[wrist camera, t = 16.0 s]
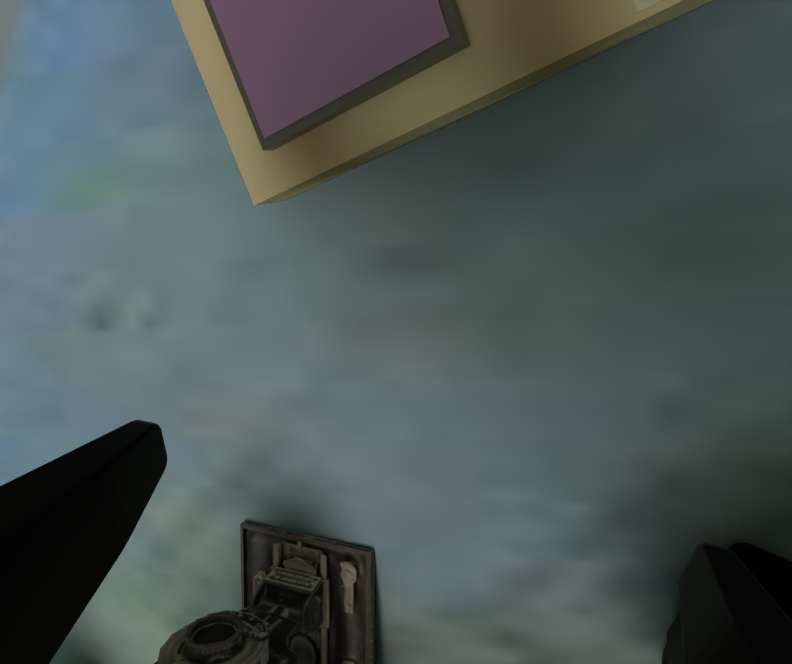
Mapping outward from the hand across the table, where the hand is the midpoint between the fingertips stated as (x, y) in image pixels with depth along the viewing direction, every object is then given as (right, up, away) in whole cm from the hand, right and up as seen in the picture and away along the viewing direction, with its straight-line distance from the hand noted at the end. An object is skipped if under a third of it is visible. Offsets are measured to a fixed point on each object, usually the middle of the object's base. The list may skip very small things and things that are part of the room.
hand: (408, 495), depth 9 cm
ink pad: (-3, +13, +8) cm, 16 cm away
